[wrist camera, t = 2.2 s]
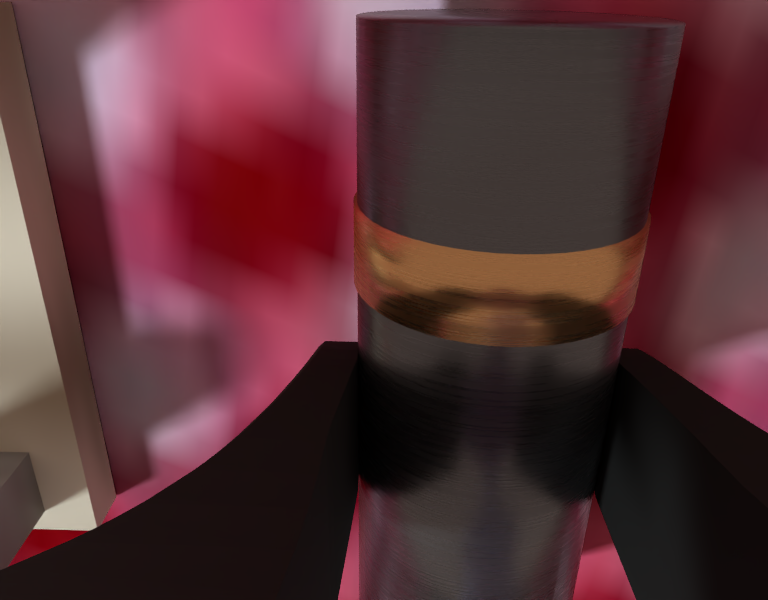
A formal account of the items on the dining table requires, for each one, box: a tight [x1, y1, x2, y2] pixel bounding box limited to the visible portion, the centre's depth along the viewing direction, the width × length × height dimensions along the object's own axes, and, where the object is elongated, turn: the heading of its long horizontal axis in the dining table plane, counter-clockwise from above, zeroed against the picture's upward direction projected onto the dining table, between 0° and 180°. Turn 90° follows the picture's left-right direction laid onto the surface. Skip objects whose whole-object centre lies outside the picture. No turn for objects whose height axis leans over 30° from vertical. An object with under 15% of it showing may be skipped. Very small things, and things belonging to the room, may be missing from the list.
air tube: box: [354, 9, 686, 600], centre depth 11 cm, size 12×4×4 cm, turn 179°
